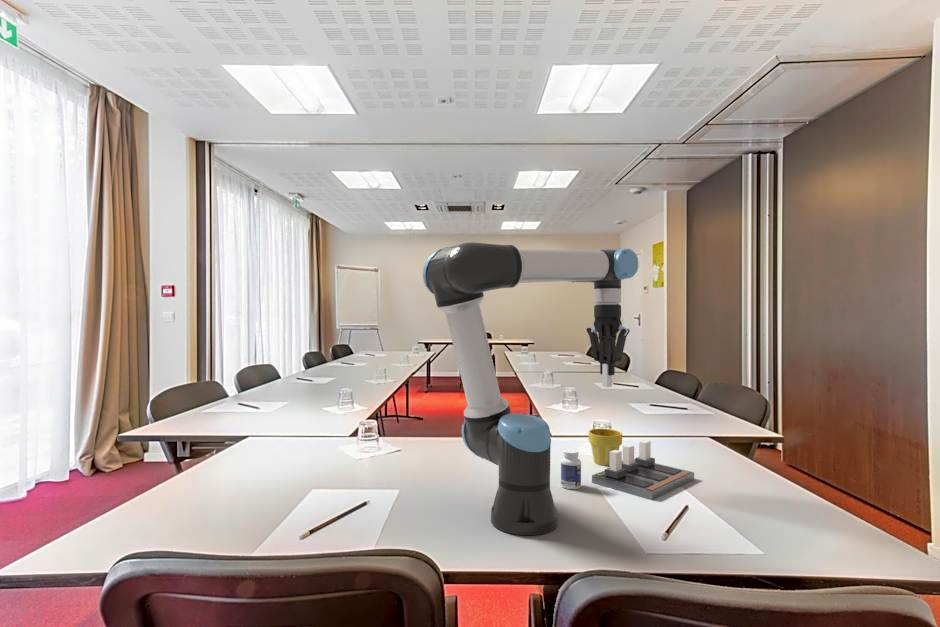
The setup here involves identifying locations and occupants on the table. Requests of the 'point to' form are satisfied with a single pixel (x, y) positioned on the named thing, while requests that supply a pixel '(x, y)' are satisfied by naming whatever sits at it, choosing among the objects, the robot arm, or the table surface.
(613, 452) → the block
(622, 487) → the panel
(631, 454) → the breaker mid
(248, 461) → the table surface
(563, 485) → the pill bottle
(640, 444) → the breaker right
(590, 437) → the plant pot
